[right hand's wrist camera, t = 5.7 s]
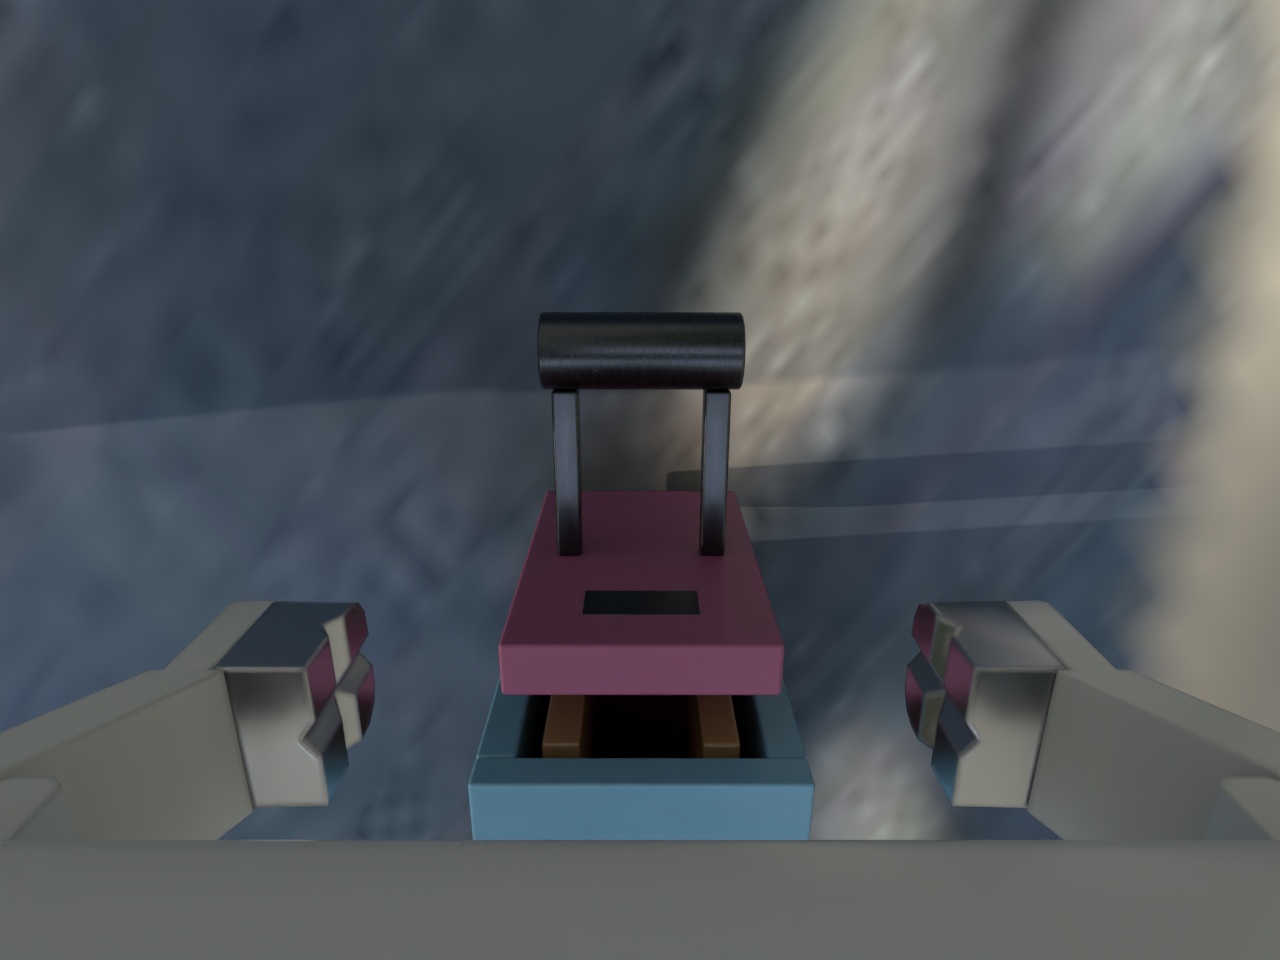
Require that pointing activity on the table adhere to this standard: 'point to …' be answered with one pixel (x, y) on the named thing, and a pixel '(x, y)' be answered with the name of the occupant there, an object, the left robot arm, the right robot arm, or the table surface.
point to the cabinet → (641, 783)
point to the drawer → (641, 560)
